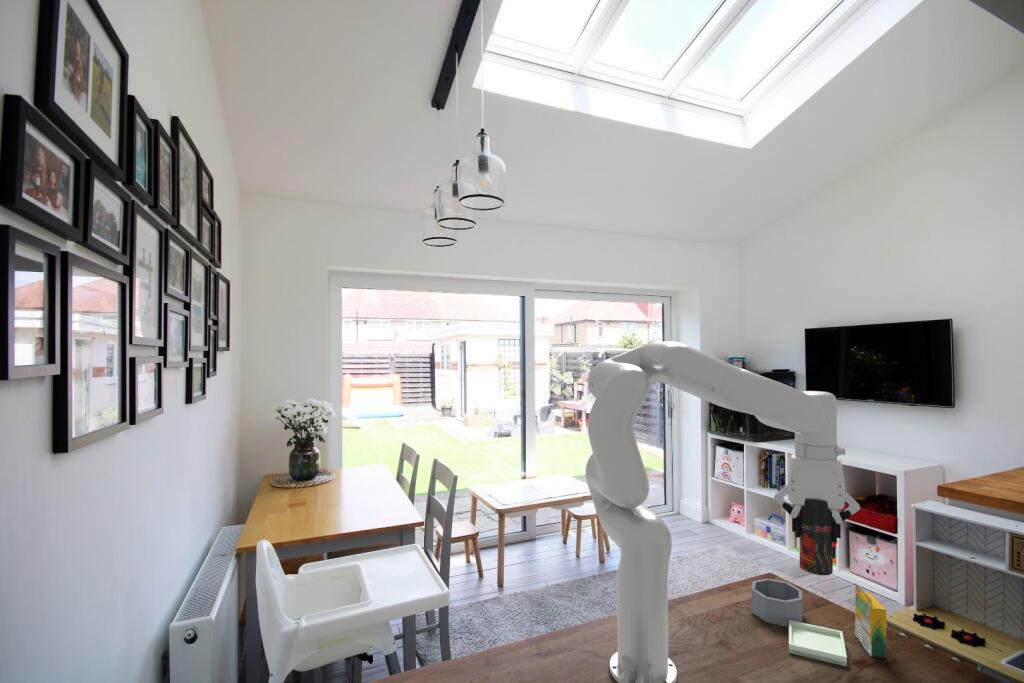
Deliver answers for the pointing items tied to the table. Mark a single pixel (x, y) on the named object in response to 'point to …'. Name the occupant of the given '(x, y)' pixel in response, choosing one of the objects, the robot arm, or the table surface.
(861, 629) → the crayon box
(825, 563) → the deodorant
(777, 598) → the grey octagonal container
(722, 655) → the table surface
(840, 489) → the robot arm
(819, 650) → the tray
